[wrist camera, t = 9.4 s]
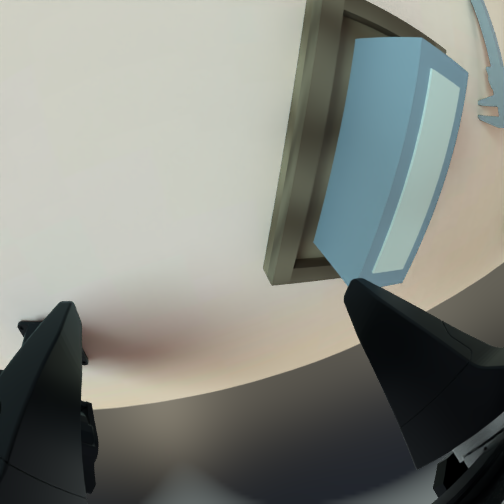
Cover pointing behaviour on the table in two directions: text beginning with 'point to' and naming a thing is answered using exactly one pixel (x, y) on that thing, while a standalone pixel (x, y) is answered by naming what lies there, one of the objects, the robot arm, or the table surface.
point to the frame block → (390, 157)
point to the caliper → (498, 75)
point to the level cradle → (318, 130)
